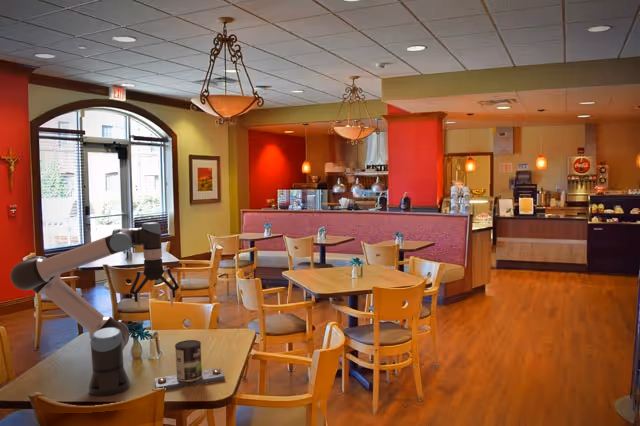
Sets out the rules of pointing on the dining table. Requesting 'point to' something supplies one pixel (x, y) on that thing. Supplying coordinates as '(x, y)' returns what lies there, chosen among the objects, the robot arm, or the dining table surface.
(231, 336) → the dining table surface
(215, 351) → the dining table surface
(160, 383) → the left end plate
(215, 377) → the right end plate
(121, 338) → the robot arm
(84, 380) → the dining table surface
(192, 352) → the coffee can
